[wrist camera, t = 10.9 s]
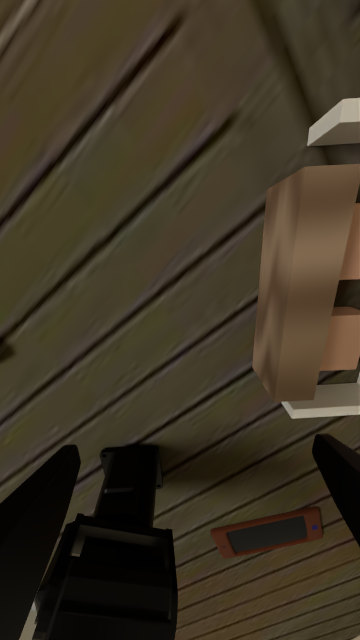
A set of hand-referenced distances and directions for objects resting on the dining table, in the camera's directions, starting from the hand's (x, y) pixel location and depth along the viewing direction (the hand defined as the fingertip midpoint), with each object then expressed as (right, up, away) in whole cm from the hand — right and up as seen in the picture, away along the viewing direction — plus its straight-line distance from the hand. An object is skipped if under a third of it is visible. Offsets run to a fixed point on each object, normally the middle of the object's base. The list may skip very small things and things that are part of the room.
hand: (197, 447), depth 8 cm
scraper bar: (+8, +7, +10) cm, 15 cm away
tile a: (+12, +4, +12) cm, 17 cm away
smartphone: (+12, -25, +23) cm, 36 cm away
